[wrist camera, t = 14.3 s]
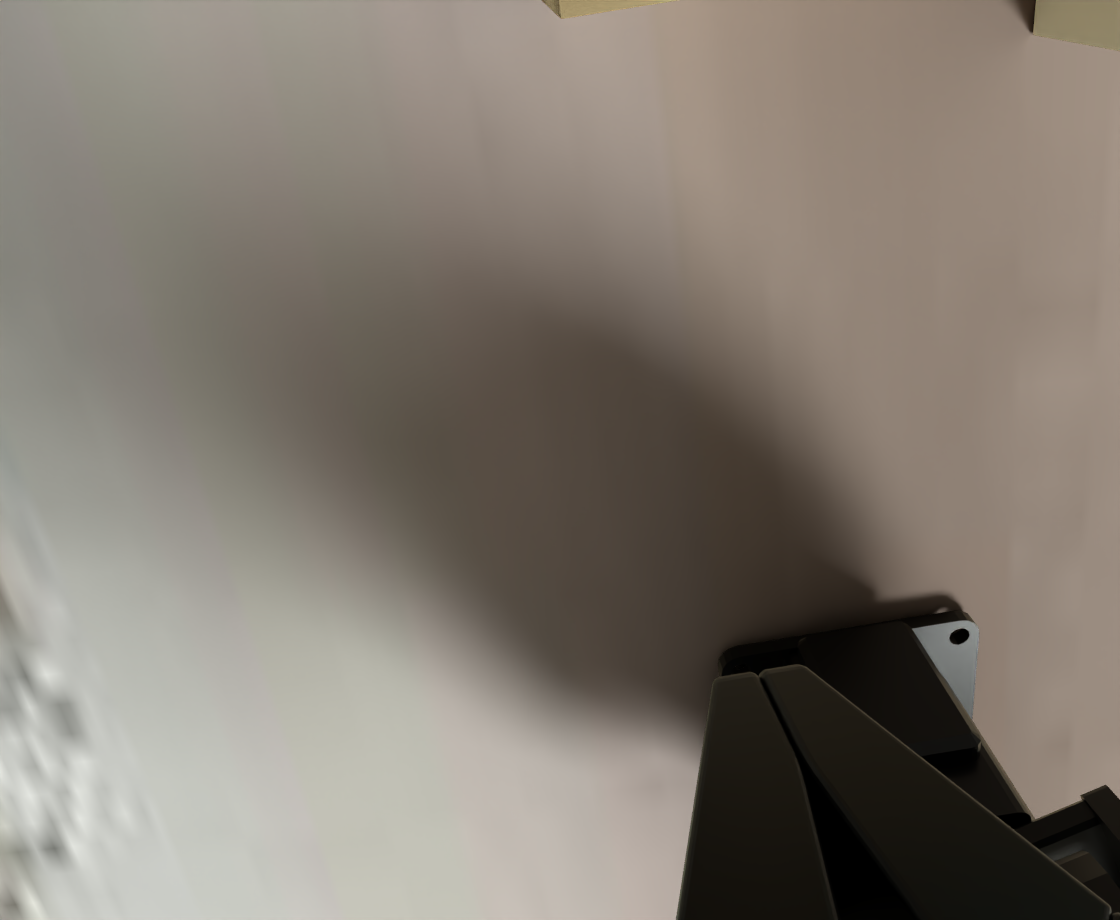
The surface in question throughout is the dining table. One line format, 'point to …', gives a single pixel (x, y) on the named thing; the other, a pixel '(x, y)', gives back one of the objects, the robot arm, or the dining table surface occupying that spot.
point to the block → (594, 6)
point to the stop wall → (1079, 21)
